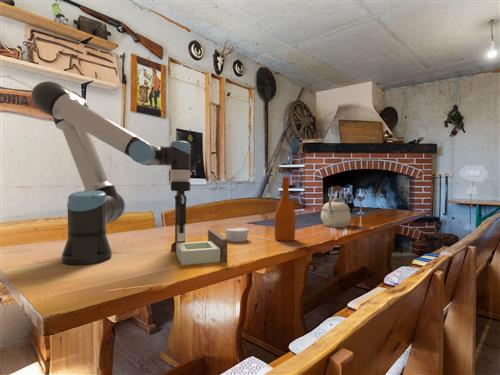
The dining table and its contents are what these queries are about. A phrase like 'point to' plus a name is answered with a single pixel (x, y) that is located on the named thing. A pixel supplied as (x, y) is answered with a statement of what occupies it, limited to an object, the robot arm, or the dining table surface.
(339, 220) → the kettle
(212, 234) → the backstop wall
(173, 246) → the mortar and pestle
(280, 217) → the wine bottle
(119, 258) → the dining table surface
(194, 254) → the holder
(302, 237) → the dining table surface
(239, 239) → the ramekin
